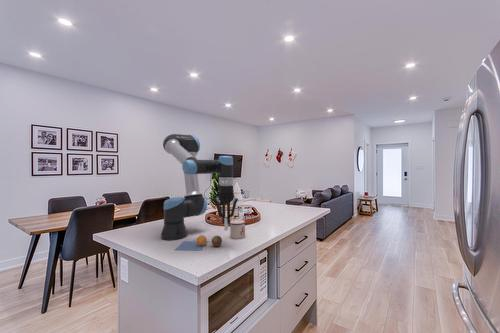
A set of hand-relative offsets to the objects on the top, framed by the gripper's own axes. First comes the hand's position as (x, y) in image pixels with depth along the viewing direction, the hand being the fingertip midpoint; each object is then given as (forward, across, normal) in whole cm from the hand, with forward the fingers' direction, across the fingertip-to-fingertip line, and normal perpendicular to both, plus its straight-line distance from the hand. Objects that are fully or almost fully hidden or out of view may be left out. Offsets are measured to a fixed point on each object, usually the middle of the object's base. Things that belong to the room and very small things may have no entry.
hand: (226, 229), depth 125 cm
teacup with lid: (+9, +4, +17) cm, 20 cm away
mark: (+9, -18, -1) cm, 20 cm away
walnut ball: (+6, -5, -1) cm, 8 cm away
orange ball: (+6, -13, 0) cm, 15 cm away
